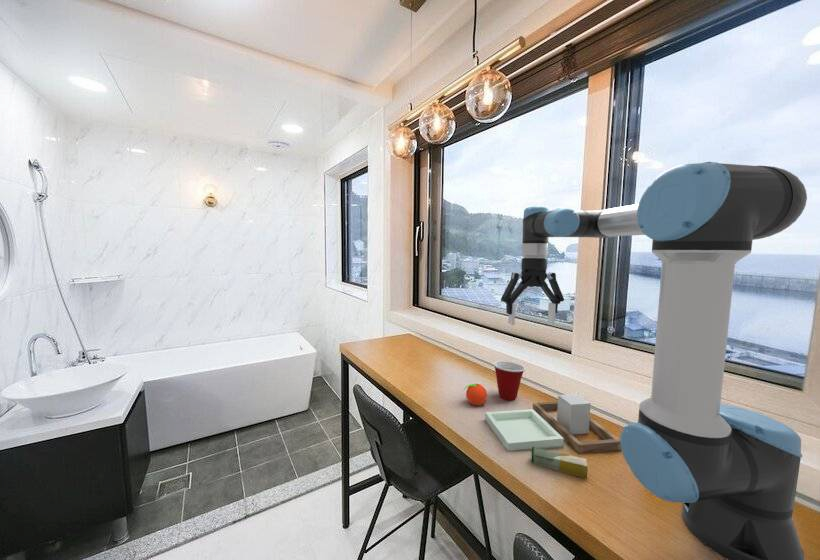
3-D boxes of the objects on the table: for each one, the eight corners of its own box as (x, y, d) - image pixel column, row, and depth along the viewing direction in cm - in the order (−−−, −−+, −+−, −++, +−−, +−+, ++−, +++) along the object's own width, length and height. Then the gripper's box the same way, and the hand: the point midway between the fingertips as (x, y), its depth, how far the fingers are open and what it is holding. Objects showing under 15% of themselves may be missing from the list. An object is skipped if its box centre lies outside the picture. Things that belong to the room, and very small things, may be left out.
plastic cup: (530, 398, 111) (531, 365, 110) (513, 408, 104) (514, 373, 103) (503, 387, 119) (504, 357, 118) (486, 396, 112) (487, 363, 111)
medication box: (530, 467, 76) (530, 452, 75) (531, 459, 78) (531, 445, 78) (587, 481, 71) (588, 466, 70) (586, 473, 73) (587, 457, 73)
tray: (563, 449, 83) (563, 438, 82) (507, 454, 80) (508, 443, 80) (532, 418, 98) (532, 409, 97) (485, 421, 96) (485, 412, 95)
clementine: (464, 409, 103) (464, 388, 102) (461, 399, 110) (461, 379, 109) (488, 409, 103) (489, 388, 102) (484, 399, 110) (484, 379, 109)
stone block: (588, 433, 90) (590, 403, 89) (569, 435, 89) (571, 404, 88) (574, 422, 96) (576, 393, 95) (556, 423, 95) (558, 395, 94)
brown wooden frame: (621, 450, 82) (622, 441, 82) (578, 454, 80) (579, 445, 80) (567, 407, 104) (567, 400, 104) (532, 410, 103) (532, 403, 102)
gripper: (563, 257, 104) (560, 320, 106) (491, 256, 100) (489, 322, 103) (578, 257, 97) (574, 325, 99) (501, 257, 93) (499, 327, 95)
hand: (531, 323), depth 101 cm, fingers open, 13 cm apart
